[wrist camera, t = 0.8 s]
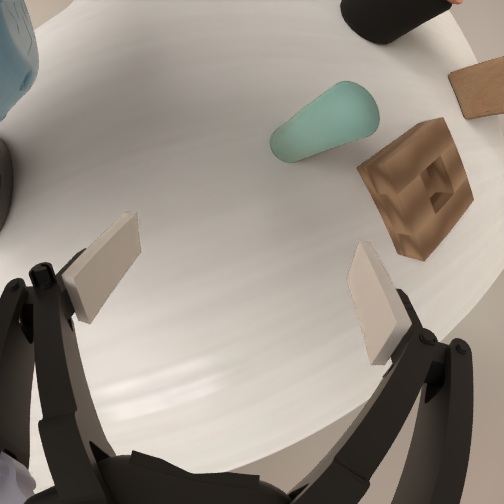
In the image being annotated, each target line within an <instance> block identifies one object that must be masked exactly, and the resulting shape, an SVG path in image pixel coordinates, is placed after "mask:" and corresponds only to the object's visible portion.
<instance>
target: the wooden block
mask: <svg viewBox="0 0 504 504" xmlns="http://www.w3.org/2000/svg"><path fill="white" fill-rule="evenodd" d="M448 76H449V80H450V82H451V84H452V87H453V89H454V91H455V94H456V96H457V99H458V102H459V104H460V107H461V110H462V113H463V115H464V117H465V118H467V119H473V118H479V117H485V116H491V115H497V114H504V56H503V57H499V58H496V59H492V60H489V61H485V62H482V63H479V64H475V65H472V66H469V67H466V68H463V69H460V70H457V71H454V72H451V73H450V74H449V75H448Z"/></svg>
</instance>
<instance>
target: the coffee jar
mask: <svg viewBox="0 0 504 504" xmlns="http://www.w3.org/2000/svg"><path fill="white" fill-rule="evenodd" d="M462 1H463V0H342V1H341V5H340V7H341V13H342V16H343V18H344V20H345V22H346V23H347V24H348V25H349V26H350V28H351V29H352V30H354V31H355V32H356V33H357V34H358V35H360V36H362V37H363V38H365V39H366V40H369V41H371V42H374V43H382V44H387V43H391V42H393V41H394V40H396V39H398V38H399V37H401V36H403V35H404V34H406V33H407V32H409V31H411V30H413V29H414V28H416V27H418V26H419V25H421V24H423V23H425V22H426V21H428V20H430V19H432V18H434V17H436V16H437V15H439V14H441V13H443V12H445V11H447V10H449V9H450V8H451V6H452V4H460V3H462Z"/></svg>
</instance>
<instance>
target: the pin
mask: <svg viewBox="0 0 504 504" xmlns="http://www.w3.org/2000/svg"><path fill="white" fill-rule="evenodd" d="M379 120H380V116H379V110H378V107H377V104H376V102H375V100H374V98H373V97H372V95H371V94H370V93H369V92H368V91H367V90H366V89H365V88H363V87H362V86H360V85H359V84H357V83H354V82H350V81H343V82H339V83H337V84H335V85H334V86H333V87H331V88H330V89H329V90H327V91H326V92H324V93H323V94H322V95H320V96H319V97H318V98H316V99H315V100H314V101H312V102H311V103H310V104H308V105H307V106H306V107H305V108H303V109H302V110H301V111H299V112H298V113H297V114H296V115H294V116H293V117H292V118H291V119H289V120H288V121H287V122H286V123H284V124H283V125H282V126H281V127H279V128H278V129H277V130H276V131H275V132H274V133H273V135H272V137H271V141H270V145H271V149H272V151H273V153H274V155H275V156H276V157H277V158H278V159H280V160H282V161H284V162H288V163H292V162H296V161H299V160H301V159H304V158H307V157H310V156H312V155H315V154H318V153H321V152H323V151H326V150H329V149H332V148H335V147H338V146H341V145H344V144H346V143H349V142H352V141H356V140H359V139H362V138H365V137H368V136H370V135H372V134H373V133H374V132H375V131H376V130H377V128H378V125H379Z"/></svg>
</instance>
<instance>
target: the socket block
mask: <svg viewBox="0 0 504 504" xmlns="http://www.w3.org/2000/svg"><path fill="white" fill-rule="evenodd" d="M357 169H358V171H359V173H360V175H361V177H362V179H363V181H364V182H365V184H366V186H367V188H368V190H369V192H370V194H371V196H372V198H373V200H374V202H375V204H376V206H377V208H378V210H379V212H380V214H381V216H382V219H383V221H384V223H385V225H386V227H387V230H388V232H389V234H390V236H391V239H392V241H393V243H394V246H395V248H396V250H397V253H398V254H399V255H403V256H407V257H410V258H414V259H417V260H421V261H425V260H426V259H427V258H428V257H429V255H430V254H431V253H432V252H433V251H434V250H435V249H436V247H437V246H438V245H439V244H440V243H441V241H442V240H443V239H444V238H445V237H446V235H447V234H448V233H449V232H450V231H451V229H452V228H453V227H454V226H455V224H456V223H457V222H458V220H459V219H460V218H461V217H462V215H463V214H464V213H465V211H466V210H467V209H468V207H469V206H470V205H471V203H472V202H473V200H474V198H473V195H472V191H471V188H470V185H469V181H468V178H467V175H466V172H465V169H464V166H463V164H462V161H461V158H460V156H459V153H458V150H457V148H456V145H455V143H454V140H453V138H452V136H451V133H450V131H449V129H448V127H447V124H446V122H445V120H444V118H443V117H442V118H437V119H433V120H429V121H425V122H421V123H418V124H417V125H415V126H414V127H413V128H411V129H410V130H408V131H407V132H406V133H404V134H403V135H402V136H400V137H399V138H397V139H396V140H395V141H393V142H392V143H390V144H389V145H388V146H386V147H385V148H383V149H382V150H381V151H379V152H378V153H377V154H375V155H374V156H372V157H371V158H370V159H368V160H367V161H366V162H364V163H363V164H361V165H360V166H359V167H357Z"/></svg>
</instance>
